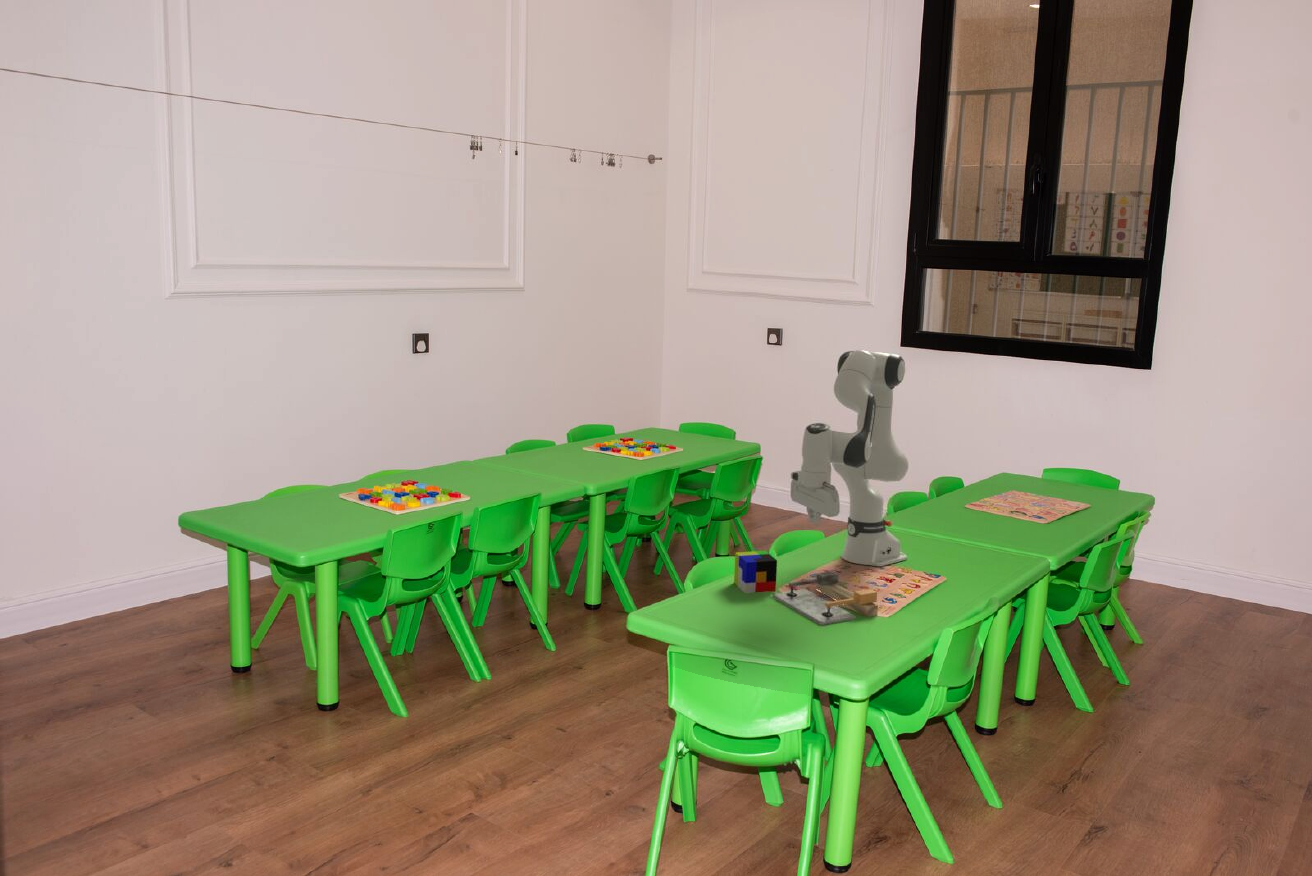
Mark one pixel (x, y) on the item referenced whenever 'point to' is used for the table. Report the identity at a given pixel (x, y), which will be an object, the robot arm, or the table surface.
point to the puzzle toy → (755, 572)
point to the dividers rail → (837, 592)
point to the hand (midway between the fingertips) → (813, 523)
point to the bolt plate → (813, 607)
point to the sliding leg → (856, 599)
